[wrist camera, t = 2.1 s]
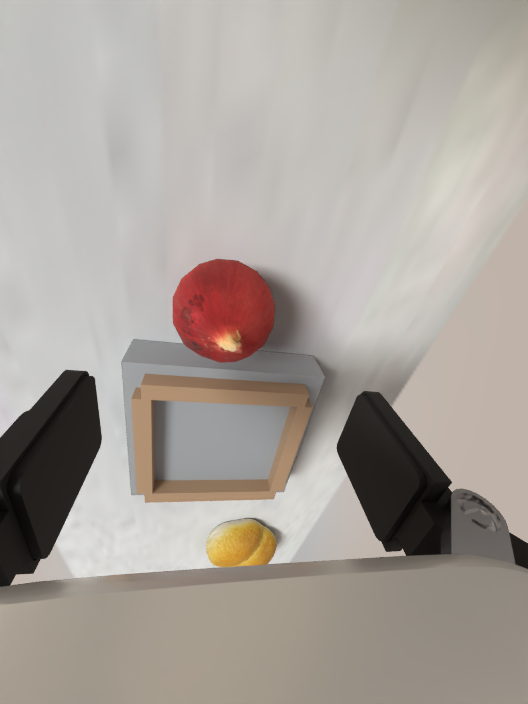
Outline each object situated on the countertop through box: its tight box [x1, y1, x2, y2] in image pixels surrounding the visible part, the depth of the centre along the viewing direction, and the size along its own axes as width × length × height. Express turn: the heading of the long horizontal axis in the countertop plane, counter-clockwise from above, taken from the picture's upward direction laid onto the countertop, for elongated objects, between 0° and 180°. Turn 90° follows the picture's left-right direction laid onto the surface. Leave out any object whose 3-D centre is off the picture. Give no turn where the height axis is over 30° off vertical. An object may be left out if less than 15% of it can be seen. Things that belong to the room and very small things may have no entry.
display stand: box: [121, 339, 325, 503], centre depth 24 cm, size 14×14×4 cm
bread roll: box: [206, 518, 277, 567], centre depth 35 cm, size 8×9×4 cm
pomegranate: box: [173, 259, 275, 363], centre depth 16 cm, size 6×6×8 cm
